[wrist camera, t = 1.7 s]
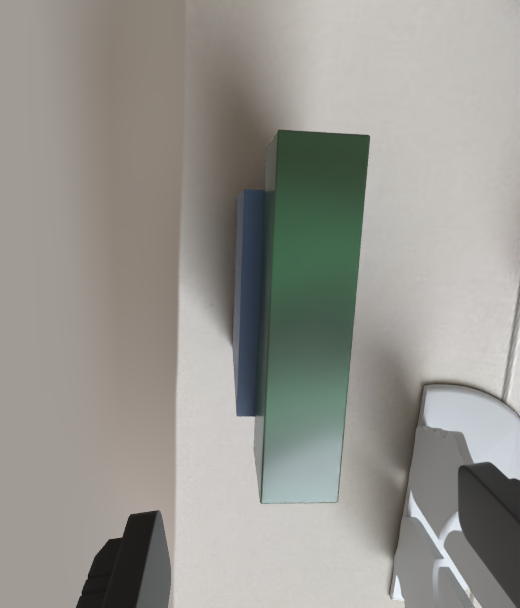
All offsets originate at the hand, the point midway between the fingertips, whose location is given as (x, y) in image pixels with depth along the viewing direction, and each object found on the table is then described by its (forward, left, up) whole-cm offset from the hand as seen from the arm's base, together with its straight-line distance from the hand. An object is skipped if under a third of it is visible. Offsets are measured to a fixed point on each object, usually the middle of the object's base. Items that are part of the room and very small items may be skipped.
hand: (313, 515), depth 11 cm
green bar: (0, +3, -12) cm, 12 cm away
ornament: (+27, -5, -24) cm, 36 cm away
